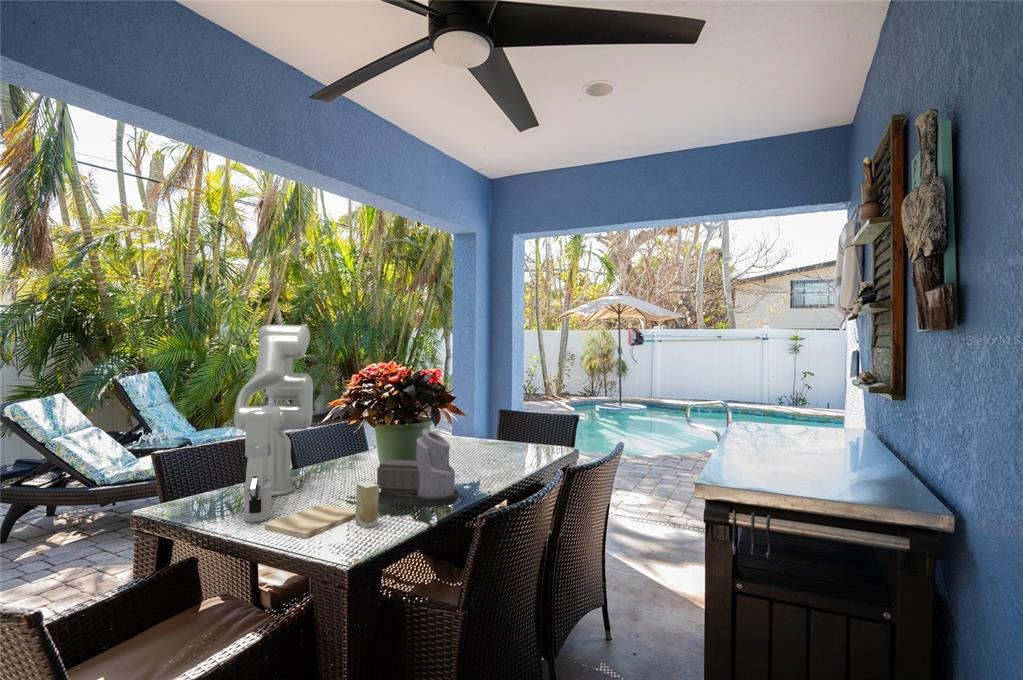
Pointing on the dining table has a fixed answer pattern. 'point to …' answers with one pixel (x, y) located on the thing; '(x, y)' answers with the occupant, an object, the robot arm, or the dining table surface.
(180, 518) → the dining table surface
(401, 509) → the dining table surface
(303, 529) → the oak board
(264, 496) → the can
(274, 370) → the robot arm
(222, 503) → the dining table surface
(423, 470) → the juicer
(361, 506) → the skincare box
